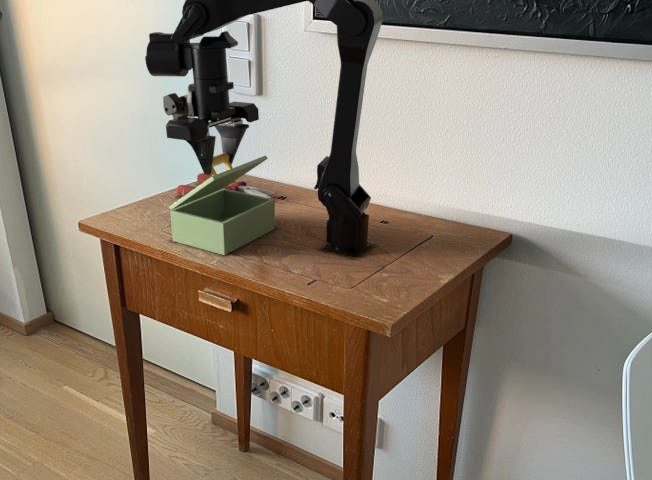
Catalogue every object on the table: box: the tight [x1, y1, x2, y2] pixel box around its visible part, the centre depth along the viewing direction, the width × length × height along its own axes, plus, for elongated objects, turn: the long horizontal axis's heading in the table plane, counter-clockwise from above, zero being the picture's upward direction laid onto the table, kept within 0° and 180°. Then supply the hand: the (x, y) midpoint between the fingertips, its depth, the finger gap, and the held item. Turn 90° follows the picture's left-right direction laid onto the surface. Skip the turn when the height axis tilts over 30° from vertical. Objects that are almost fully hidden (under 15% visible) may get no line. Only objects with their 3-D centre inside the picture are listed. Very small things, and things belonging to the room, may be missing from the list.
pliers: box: [176, 172, 277, 199], centre depth 154 cm, size 12×20×3 cm, turn 68°
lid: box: [168, 152, 268, 211], centre depth 130 cm, size 12×15×4 cm
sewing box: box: [169, 188, 276, 256], centre depth 133 cm, size 12×15×6 cm
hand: (218, 170), depth 129 cm, fingers closed on lid, 5 cm apart
